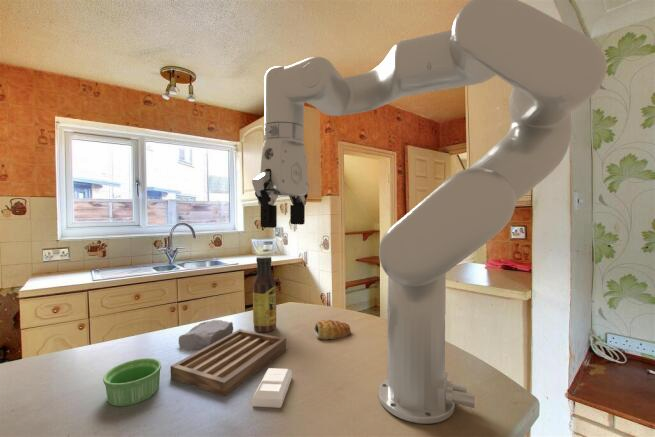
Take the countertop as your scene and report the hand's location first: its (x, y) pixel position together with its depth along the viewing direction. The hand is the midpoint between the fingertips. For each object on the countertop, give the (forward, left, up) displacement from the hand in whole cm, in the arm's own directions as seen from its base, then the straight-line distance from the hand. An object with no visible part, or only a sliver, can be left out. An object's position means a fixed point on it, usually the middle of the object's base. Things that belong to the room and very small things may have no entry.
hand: (283, 225), depth 61 cm
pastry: (0, -22, -31) cm, 37 cm away
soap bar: (-1, +5, -31) cm, 31 cm away
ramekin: (+22, +16, -30) cm, 41 cm away
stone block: (+28, -6, -31) cm, 42 cm away
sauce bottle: (+18, -18, -30) cm, 40 cm away
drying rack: (+13, 0, -30) cm, 33 cm away
